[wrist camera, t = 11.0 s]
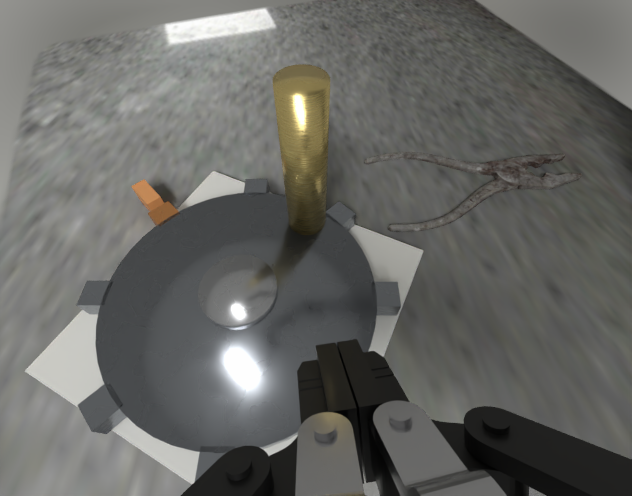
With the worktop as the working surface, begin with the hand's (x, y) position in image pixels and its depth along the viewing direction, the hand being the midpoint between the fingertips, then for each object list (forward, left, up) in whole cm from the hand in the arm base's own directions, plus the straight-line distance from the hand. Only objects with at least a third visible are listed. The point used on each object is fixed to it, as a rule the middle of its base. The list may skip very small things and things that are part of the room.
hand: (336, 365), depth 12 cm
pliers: (-25, +3, -11) cm, 27 cm away
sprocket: (-3, -8, -9) cm, 13 cm away
